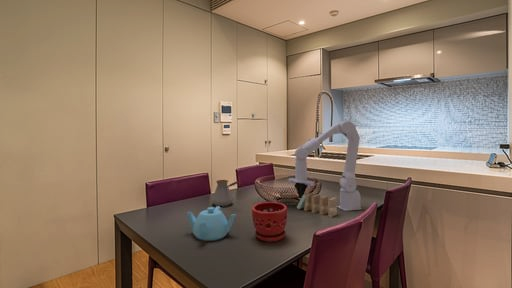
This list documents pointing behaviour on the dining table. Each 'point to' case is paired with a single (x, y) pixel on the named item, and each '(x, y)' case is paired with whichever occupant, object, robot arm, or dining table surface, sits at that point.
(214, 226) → the teapot
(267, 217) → the plant pot
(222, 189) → the coffee pot
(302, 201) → the teal domino
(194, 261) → the dining table surface
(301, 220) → the dining table surface
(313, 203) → the domino
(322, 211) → the domino
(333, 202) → the domino
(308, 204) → the domino
